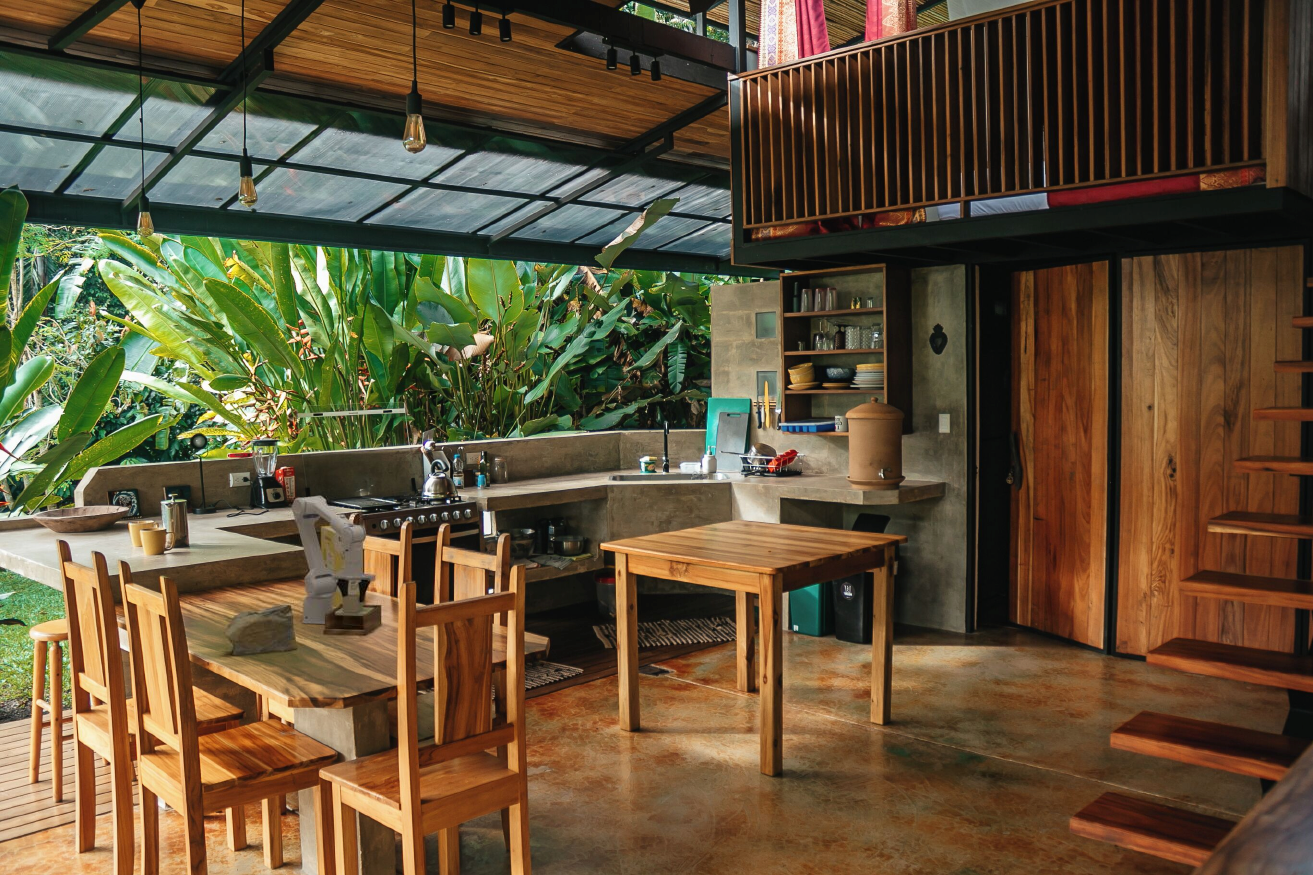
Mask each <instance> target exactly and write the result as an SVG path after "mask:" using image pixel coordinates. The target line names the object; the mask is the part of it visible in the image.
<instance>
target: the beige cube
mask: <svg viewBox="0 0 1313 875" xmlns="http://www.w3.org/2000/svg"><path fill="white" fill-rule="evenodd" d="M359 597H360V595H347V596H345V597H343V612H349V613H358V612H359V611H361V610H363V604H364V601H363V602H360V600H359Z"/></svg>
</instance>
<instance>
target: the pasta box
mask: <svg viewBox="0 0 1313 875" xmlns="http://www.w3.org/2000/svg"><path fill="white" fill-rule="evenodd" d="M320 549H321V553H322V556H323V560H324V563H325V567H327V568H328V569H330V570H332V571H333V574H341V573H345V549H344V547H343V542H342V540H341V536H340V535H339V534H338V533H337V532H335V531H334V530H333V529H332V528H331V527H330V525H325V526H324V525H323V526H320ZM362 573H363V574H364V541H363V542H362ZM337 581H338V580H337ZM358 582H361V581H358V580H349V585H348V595H360V592H359V585H358ZM334 594H335V595H333V608H337V607H339V605H340V604H343V597H342V594H341V591H340V589H339V587H338V588H337V591H336V592H335V593H334Z"/></svg>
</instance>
